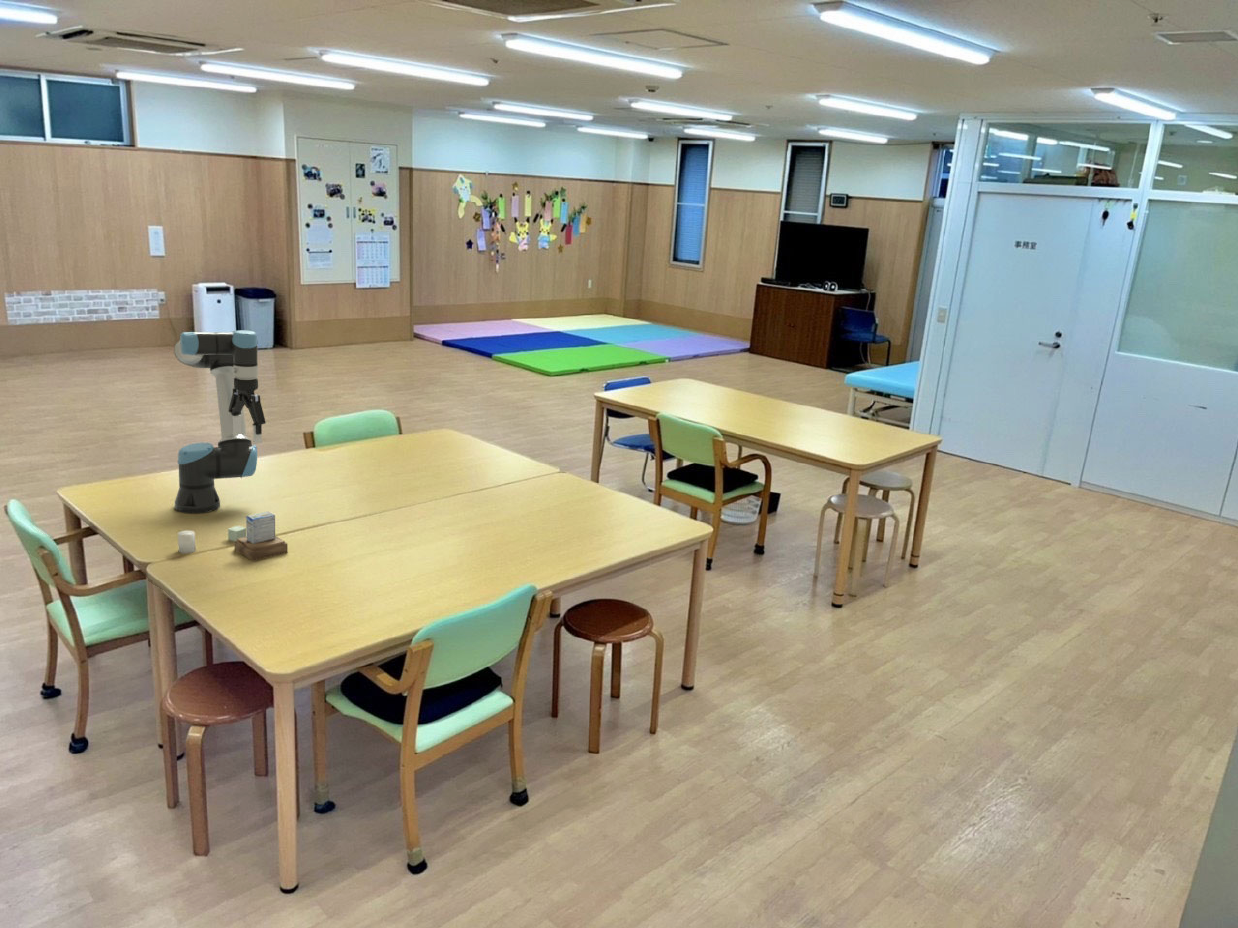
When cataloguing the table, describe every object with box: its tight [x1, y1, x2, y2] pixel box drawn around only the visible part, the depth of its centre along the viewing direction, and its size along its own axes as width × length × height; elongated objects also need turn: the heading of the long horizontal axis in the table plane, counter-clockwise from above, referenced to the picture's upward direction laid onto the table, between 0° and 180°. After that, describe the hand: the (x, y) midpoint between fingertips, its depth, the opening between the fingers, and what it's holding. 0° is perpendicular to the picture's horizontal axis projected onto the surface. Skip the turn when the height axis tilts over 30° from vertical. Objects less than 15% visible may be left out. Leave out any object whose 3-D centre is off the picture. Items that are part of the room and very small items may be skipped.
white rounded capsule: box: [177, 530, 196, 554], centre depth 294 cm, size 5×5×6 cm
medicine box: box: [245, 511, 276, 544], centre depth 297 cm, size 8×4×9 cm, turn 139°
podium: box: [234, 535, 289, 562], centre depth 299 cm, size 12×12×4 cm
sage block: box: [227, 525, 247, 543], centre depth 307 cm, size 4×4×4 cm
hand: (247, 438), depth 309 cm, fingers open, 13 cm apart
